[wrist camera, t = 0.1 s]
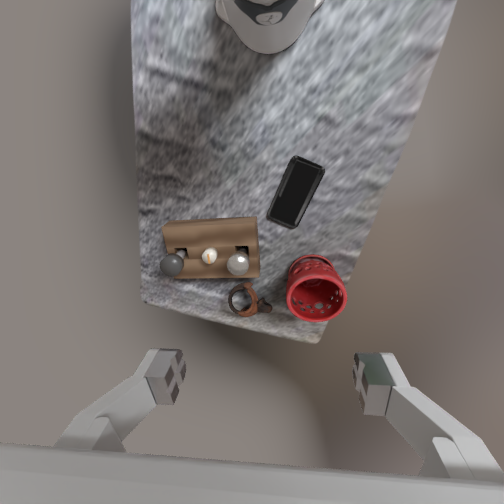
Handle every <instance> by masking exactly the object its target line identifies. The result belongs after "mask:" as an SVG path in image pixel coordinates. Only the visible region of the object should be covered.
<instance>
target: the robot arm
mask: <svg viewBox="0 0 504 504" xmlns="http://www.w3.org/2000/svg"><path fill="white" fill-rule="evenodd" d="M323 2H324V0H216V11H217V14H218V16H219V17H220V18H221V19H222V20H223V21H224V22H226V23H227V24H229V25H231V27H232V28H233V29H234V31H235V32H236V34H237V35H238V37H239V38H240V40H241V41H242V42H243V43H244V44H245V45H246V46H247V47H249V48H250V49H252V50H253V51H256V52H258V53H262V54H273V53H277V52H280V51H282V50H284V49H286V48H287V47H289V46H290V45H291V44H293V43H294V42H295V41H296V40H297V38H298V37H299V36H300V34H301V33H302V31H303V30H304V28H305V26H306V24H307V22H308V20H309V18H310V16H311V15H312V13H313V12H314V11H315V10H316V9H317V8H318V7H319V6H320V5H321V4H322V3H323ZM182 356H183V353H182V350H180V349H158V348H151V349H150V350H148V352H147V353H146V355H145V357H144V358H143V360H142V361H141V363H140V365H139V366H138V368H137V369H136V371H135V373H134V374H133V376H132V377H128V378H127V379H125V380H124V381H123V382H121V383H120V384H119V385H117V386H116V387H114V388H113V389H112V390H110V391H109V392H107V393H106V394H105V395H103V396H102V397H100V398H99V399H98V400H96V401H95V402H93V403H92V404H91V405H89V406H88V407H86V408H85V409H84V410H82V411H81V412H80V413H78V414H77V415H76V416H75V418H74V419H73V420H72V422H71V423H70V425H69V426H68V427H67V428H66V430H65V431H64V433H63V434H62V435H61V437H60V438H59V439H58V441H57V442H56V443H55V445H54V446H53V447H51V446H39V445H26V444H14V443H1V442H0V504H504V473H503V471H502V470H501V468H500V467H499V465H498V464H497V462H496V461H495V459H494V458H493V456H492V455H491V453H490V452H489V450H488V449H487V447H486V446H485V444H484V443H483V441H482V440H481V439H480V438H479V437H478V436H476V435H475V434H474V433H473V432H471V431H470V430H469V429H468V428H466V427H465V426H464V425H462V424H461V423H460V422H459V421H457V420H456V419H455V418H454V417H452V416H451V415H450V414H448V413H447V412H446V411H445V410H443V409H442V408H441V407H439V406H438V405H437V404H436V403H434V402H433V401H432V400H430V399H429V398H428V397H427V396H425V395H424V394H423V393H421V392H420V391H419V390H418V389H416V388H415V387H411V386H410V385H409V383H408V381H407V379H406V377H405V375H404V373H403V371H402V370H401V368H400V366H399V364H398V362H397V360H396V358H395V357H394V355H393V354H392V353H355V354H354V361H355V365H353V370H352V372H353V381H354V385H355V388H356V389H357V390H358V391H359V392H360V393H359V401H360V405H361V408H362V411H363V414H365V415H379V416H385V417H386V418H387V420H388V421H389V422H390V423H391V424H392V425H393V427H394V428H395V429H396V430H397V431H398V432H399V433H400V434H401V435H402V437H403V438H404V439H405V440H406V441H407V442H408V443H409V445H410V446H411V447H412V448H413V449H414V450H415V451H416V452H417V454H418V455H419V456H420V457H421V458H422V459H423V460H424V463H423V466H422V468H421V470H420V473H419V475H418V476H415V475H403V474H390V473H378V472H365V471H353V470H340V469H328V468H315V467H302V466H290V465H277V464H265V463H252V462H239V461H226V460H214V459H201V458H189V457H176V456H164V455H151V454H138V453H127V452H126V450H125V448H124V446H123V444H122V440H124V439H125V437H126V436H127V435H128V434H129V433H130V432H131V431H132V430H133V429H134V428H135V427H136V426H137V425H138V424H139V423H140V422H141V421H142V420H143V419H144V418H145V417H146V416H147V415H148V414H149V413H150V412H151V411H152V409H153V408H154V407H155V406H156V404H161V405H164V404H165V405H174V403H175V401H176V398H177V396H178V393H179V388H178V386H179V385H180V384H181V383H182V382H183V380H184V378H185V373H186V364H185V361H184V360H183V359H182Z"/></svg>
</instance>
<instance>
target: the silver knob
mask: <svg viewBox="0 0 504 504" xmlns="http://www.w3.org/2000/svg"><path fill="white" fill-rule="evenodd" d="M249 264H250V259H249V257H248V255H247V251H246V249H244V248H240V249H238V251H237V252H234V253H232V254H231V255H230V257H229V260H228V262H227V268H228V270H229V271H230V272H231V273H232V274H234V275H243V274H245V273H246V272H247V271H248V268H249Z"/></svg>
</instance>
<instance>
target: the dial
mask: <svg viewBox="0 0 504 504" xmlns="http://www.w3.org/2000/svg"><path fill="white" fill-rule="evenodd" d="M217 256H218V251H217V250H216V249H215V248H214V247H208V248H206V250H205V251H204V253H203V254H202V259H203V261H204V262H205V263H208V264H211V263H213V262H214V261H215V260H216V258H217Z"/></svg>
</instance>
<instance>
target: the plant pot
mask: <svg viewBox="0 0 504 504" xmlns="http://www.w3.org/2000/svg"><path fill="white" fill-rule="evenodd" d="M288 277H289V278H288V281H287V287H286V302H287V306H288V308H289V310H290V311H291V312H292V313H293V314H294V315H295V316H296V317H298V318H300V319H302V320H305V321H309V322H323V321H327V320H330V319H332V318H334V317H336V316H337V315H338V314H340V313H341V311H342V310H343V309H344V307H345V305H346V302H347V293H346V289H345V286H344V284H343V282H342V280H341V278H340V276H339V275H338V274H337V272H336V271H335V270H334V267H333V265H332V263H331V262H330V261H329V260H328V259H326V258H325V257H323V256H320V255H305V256H302V257H300V258H298V259H297V260H296V261H294V263H293V264H292V265H291V267H290V269H289V274H288ZM337 291H338V294H336V293H337ZM341 292H342V296H341ZM332 297H333V299H332V300H331V298H332ZM291 298H292V299H293V300H294V302H295V305H294V304H293V302H292V299H291ZM337 300H338V302H337ZM298 301H300V302H301V303H302V305H301V304H299V303H298ZM318 303H322V304H323V307H322V308H321V309H317V308H315V305H316V304H318ZM329 305H331V307H330V308H328V306H329ZM306 306H310V307H311V308H307V307H306ZM300 308H303V309H304V310H305V311H302V310H301V309H300ZM327 308H328V309H327ZM310 312H314V313H310ZM321 312H324V313H321Z"/></svg>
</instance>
